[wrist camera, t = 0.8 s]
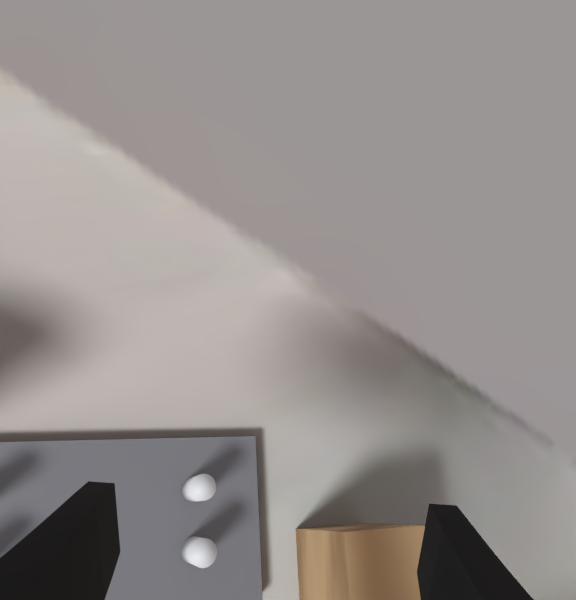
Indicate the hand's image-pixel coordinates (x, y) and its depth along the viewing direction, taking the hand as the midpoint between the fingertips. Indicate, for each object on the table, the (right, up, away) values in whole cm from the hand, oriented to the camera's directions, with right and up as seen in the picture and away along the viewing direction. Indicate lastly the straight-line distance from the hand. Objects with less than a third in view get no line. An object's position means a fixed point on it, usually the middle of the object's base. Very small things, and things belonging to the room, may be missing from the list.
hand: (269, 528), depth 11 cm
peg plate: (-9, -6, +13) cm, 17 cm away
